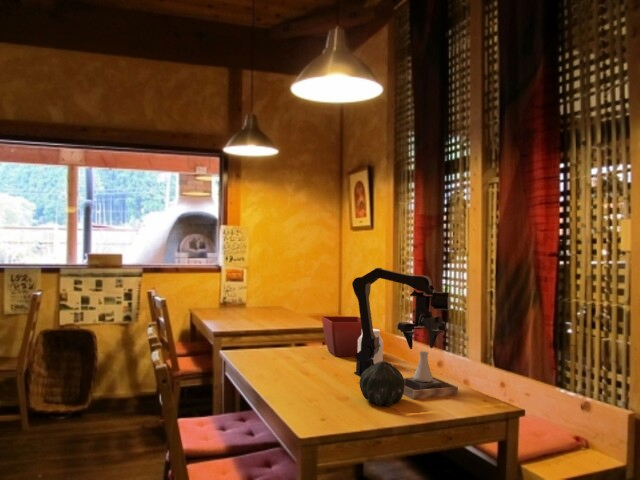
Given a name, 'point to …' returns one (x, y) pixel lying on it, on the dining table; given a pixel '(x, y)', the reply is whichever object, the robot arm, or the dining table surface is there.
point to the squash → (382, 384)
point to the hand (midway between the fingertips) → (421, 348)
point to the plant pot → (342, 334)
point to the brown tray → (431, 391)
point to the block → (422, 384)
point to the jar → (379, 355)
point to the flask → (423, 369)
